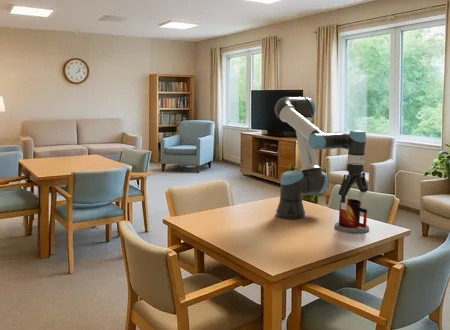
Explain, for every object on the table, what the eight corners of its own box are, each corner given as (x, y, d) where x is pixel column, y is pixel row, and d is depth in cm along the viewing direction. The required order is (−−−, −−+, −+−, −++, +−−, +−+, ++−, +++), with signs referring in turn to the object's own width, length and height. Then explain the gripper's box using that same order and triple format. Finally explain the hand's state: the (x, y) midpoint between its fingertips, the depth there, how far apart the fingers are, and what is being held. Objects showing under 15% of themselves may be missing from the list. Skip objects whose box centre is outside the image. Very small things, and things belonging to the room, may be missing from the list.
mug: (365, 230, 210) (367, 205, 208) (336, 226, 216) (337, 201, 215) (370, 225, 218) (371, 201, 216) (341, 221, 225) (343, 197, 223)
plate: (327, 227, 218) (328, 224, 218) (347, 222, 229) (347, 219, 228) (356, 235, 206) (356, 232, 206) (375, 229, 216) (375, 226, 216)
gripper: (346, 167, 202) (342, 212, 206) (377, 162, 218) (373, 204, 221) (332, 164, 208) (329, 209, 211) (363, 160, 223) (360, 201, 227)
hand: (352, 207), depth 216 cm, fingers open, 13 cm apart
